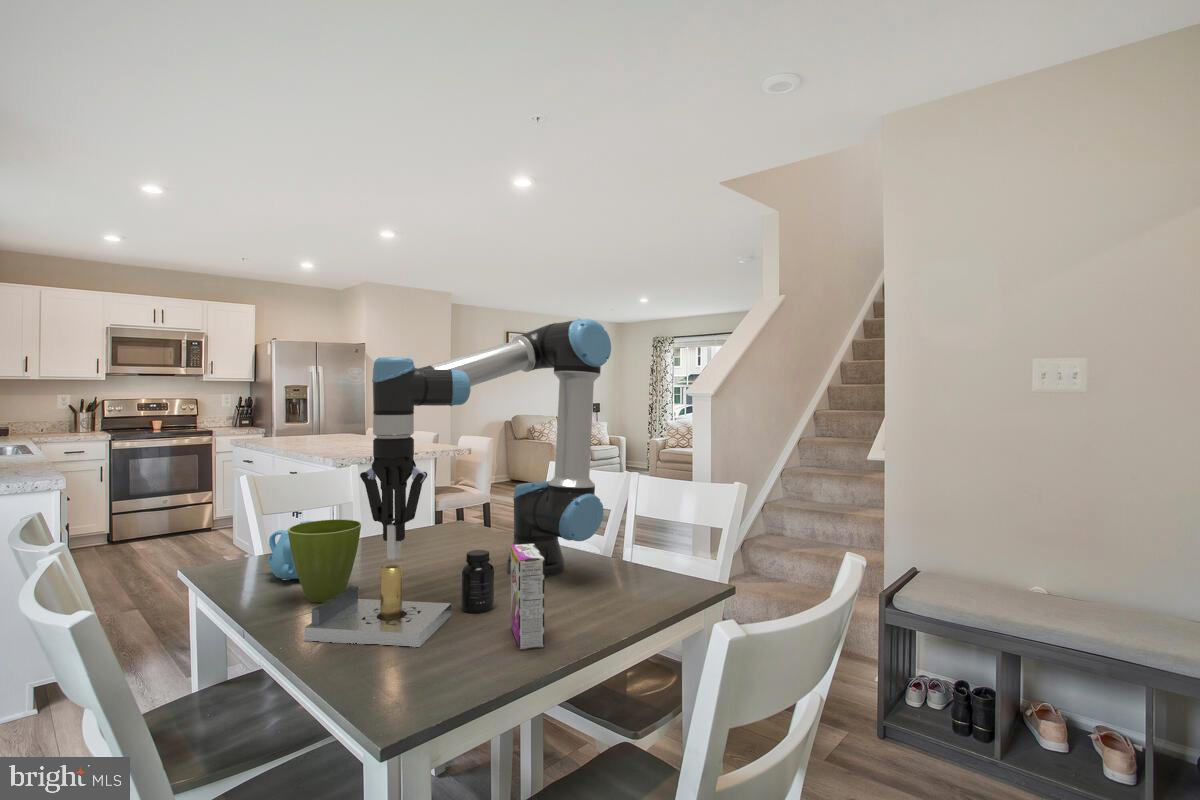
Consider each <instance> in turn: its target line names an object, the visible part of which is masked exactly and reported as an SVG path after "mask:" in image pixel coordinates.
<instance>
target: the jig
mask: <svg viewBox="0 0 1200 800" xmlns="http://www.w3.org/2000/svg"><path fill="white" fill-rule="evenodd" d="M380 602H381V599H369V598H368V599H366V598H359V586H358V585H351V586H349V587H346V589H345V590H344V591H342V592H341V593H339V594H337V595H336V596H334V597H332V598H330V599H329V600H327V601H325V602H321V603H320V604H319V605H317V606H314V607H313V608H312V609H311V623H309V624H308V625H306V626H304V628H303V632H304V634H303V635H304V636H303V641H304V642H312V641H319V642H318V643H329V642H332V643H333V644H347V643H348V644H349V643H351V644H352V645H364V644H383V645H385V644H386V645H401V646H402V645H403V646H410V647H409V648H416V647H419V648H420V647H421V646H423V644H425V643H426V642H427V641H428V639H429V638H430V637H432V636H433V634H434V633H435V632H436V631H437V630H438V629H440V627H441V626H442V625H443V624H444V623H446V621H447V620H448V619H450V617H451V616H452V603H451V602H450V603H449V602H448V603H447V602H431V601H430V602H427V601H425V602H424V601H409V600H408V601H407V600H402V618H401V619H398V620H391V621H384V620H380ZM353 643H354V644H353ZM355 643H357V644H355ZM348 644H347V645H348ZM351 644H350V645H351ZM411 646H412V647H411Z"/></svg>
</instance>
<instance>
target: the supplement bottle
mask: <svg viewBox="0 0 1200 800" xmlns="http://www.w3.org/2000/svg"><path fill="white" fill-rule="evenodd" d="M465 555H466V556H465V557H466V559H465V562H466V564H465V565H464V566H463V567H462V569H461V609H462V610H463V611H464V612H465V613H469V612H470V614H481V612H482V613H486V612H488V611H490V610H492V609H493V608H494V603H495V567H494V565H492V563H490V560H491V559H490V551H488V550H486V549H473V550H469V551H467V552H466V554H465Z"/></svg>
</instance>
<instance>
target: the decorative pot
mask: <svg viewBox="0 0 1200 800" xmlns="http://www.w3.org/2000/svg"><path fill="white" fill-rule="evenodd" d="M312 521H313V520H303V521H300V522H299V524H301V523H306V522H312ZM278 535H280V536H279V539H278V541H277V542H276V537H277V536H278ZM268 543H269V546H270V550H271V552H272V553H271V554H270V555H268V557H267V563H268V564H269V565H270V567H269V568H270V570H271V572H272V574H273V575H274V576H275V577H276V578H277V579H278V578H279V579H291V580H294V579H295V580H297V579H298V580H299V578H298V575H297V572H296V568H295V565H294V561H293V557H292V553H291V548H290V542H289V535H288V529H285V530H284V529H281V530H277V531H275V532H273V533H272V534H271V535H270V537H269V541H268Z"/></svg>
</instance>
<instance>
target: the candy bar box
mask: <svg viewBox="0 0 1200 800" xmlns="http://www.w3.org/2000/svg"><path fill="white" fill-rule="evenodd" d="M510 550H511V574H510V628H511V631H512V634H513V636H514V639H515V641H516V644H517V647H518V650H520V651H522V650H531V649H540V648H544V647H545V577H544V557H543V556H542V555H541V553H540V552H539V550H538V549H537V547H536V546H535V545H534V544H520V545H518V544H515V545H512V544H511V545H510Z"/></svg>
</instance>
